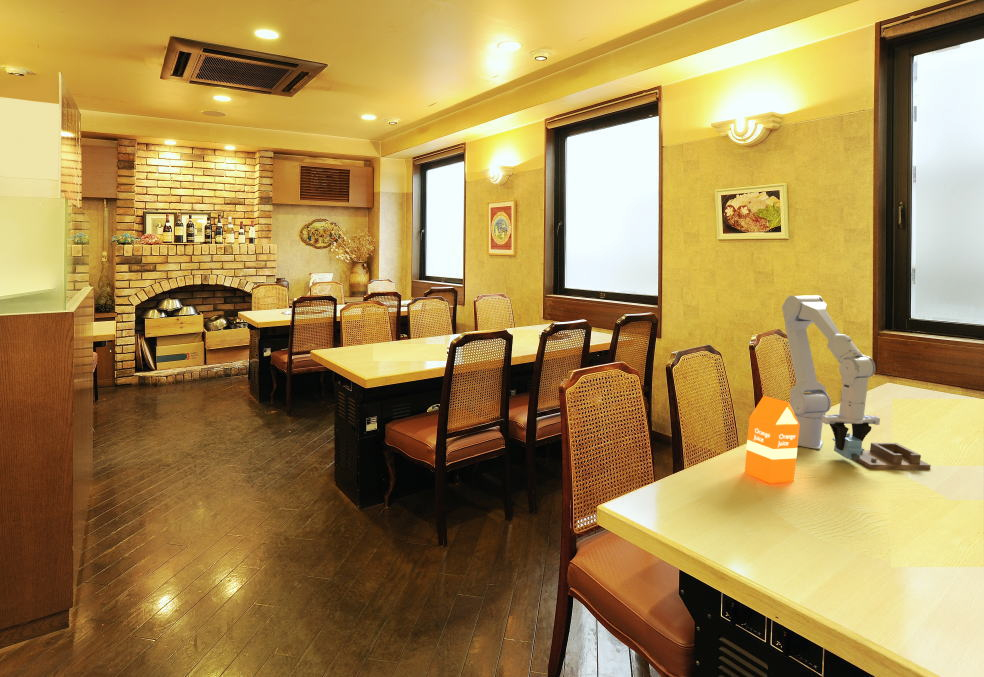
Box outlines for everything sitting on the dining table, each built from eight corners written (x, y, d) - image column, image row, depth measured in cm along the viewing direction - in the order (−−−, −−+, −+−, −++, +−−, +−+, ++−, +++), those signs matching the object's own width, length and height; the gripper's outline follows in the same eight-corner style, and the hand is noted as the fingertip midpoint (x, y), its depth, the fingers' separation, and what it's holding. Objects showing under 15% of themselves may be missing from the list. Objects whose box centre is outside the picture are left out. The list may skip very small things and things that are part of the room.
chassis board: (869, 468, 158) (871, 455, 158) (845, 454, 169) (846, 441, 168) (930, 469, 158) (931, 456, 158) (901, 454, 169) (903, 442, 169)
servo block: (863, 460, 159) (865, 440, 158) (849, 460, 159) (852, 440, 158) (844, 449, 168) (846, 429, 167) (831, 449, 168) (833, 429, 167)
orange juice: (767, 470, 157) (775, 395, 156) (794, 481, 149) (802, 402, 147) (743, 472, 155) (750, 395, 153) (769, 483, 147) (777, 403, 145)
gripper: (834, 404, 157) (829, 454, 159) (889, 405, 157) (883, 454, 159) (819, 397, 164) (814, 445, 166) (872, 398, 164) (866, 445, 166)
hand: (847, 449), depth 163 cm, fingers closed on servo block, 4 cm apart
